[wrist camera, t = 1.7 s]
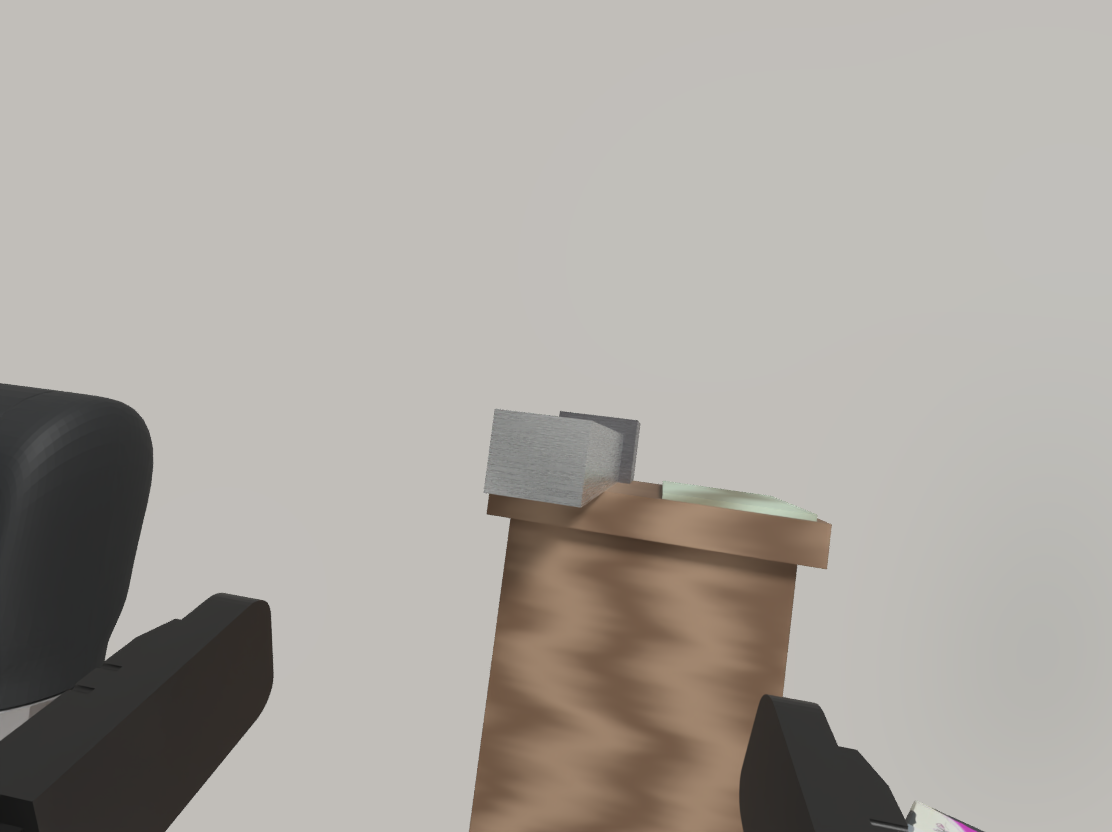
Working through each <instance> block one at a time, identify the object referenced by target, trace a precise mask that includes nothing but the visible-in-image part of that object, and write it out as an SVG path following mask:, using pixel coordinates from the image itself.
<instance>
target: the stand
mask: <svg viewBox="0 0 1112 832" xmlns="http://www.w3.org/2000/svg"><path fill="white" fill-rule="evenodd" d="M487 514H488V515H494V516H501V517H507V518H511V519H510V526H509V534H508V542H507V549H506V557H505V564H504V572H503V579H502V587H501V594H500V602H499V610H498V617H497V625H496V633H495V641H494V647H493V655H492V662H491V670H490V678H489V686H488V693H487V700H486V708H485V716H484V723H483V731H482V738H481V746H480V753H479V761H478V768H477V776H476V784H475V791H474V799H473V806H472V814H471V821H470V829H469V832H743V827H742V822H741V815H740V805H739V784H740V775H741V770H742V765H743V762H744V758H745V754H746V750H747V746H748V743H749V739H750V735H751V731H752V728H753V724H754V720H755V716H756V712H757V709H758V705H759V702H760V700H761V698H762V696H763V695H765V694H768V695H774V696H779V697H783V688H784V679H785V670H786V662H787V652H788V643H789V634H790V625H791V617H792V608H793V607H792V606H793V599H794V589H795V581H796V572H797V565H804V566H809V567H816V568H822V569H827V563H828V553H829V544H830V535H831V526H832V525H831V524H829V523H827V522H825V521H822V520H820V519H817V515H816V514H814V513H811V512H809V511H806V510H804V509H802V508H799V507H797V506H794V505H792V504H789V503H787V502H784V501H782V500H780V499H777V498H774V497H772V496H767V495H760V494H753V493H746V492H738V491H731V490H724V489H716V488H710V487H703V486H695V485H688V484H681V483H674V482H666V481H663V484H662V485H659V484H652V483H645V482H639V481H633V482H631V483H630V484H626V483H619V482H618V483H616V484H615V485H613V486H612V487H610V488H609V489H607V490H606V491H604V492H603V493H601V494H600V495H599V496H597V497H596V498H594V499H593V500H591V501H590V502H588V503H587V504H585V505H584V506H582V507H581V508H580V507H573V506H567V505H560V504H554V503H547V502H541V501H534V500H528V499H521V498H515V497H508V496H502V495H495V494H489V500H488V508H487Z"/></svg>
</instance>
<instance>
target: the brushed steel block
mask: <svg viewBox="0 0 1112 832" xmlns="http://www.w3.org/2000/svg"><path fill="white" fill-rule="evenodd" d="M639 430H640V423H639V421H637V420H629V419H620V418H613V417H604V416H596V415H587V414H579V413H571V412H563V411H560V415H559V417H558V416H550V415H542V414H533V413H525V412H517V411H509V410H501V409H495V411H494V420H493V426H492V434H491V441H490V449H489V456H488V464H487V471H486V478H485V486H484V493H489V494H495V495H502V496H508V497H515V498H521V499H528V500H534V501H541V502H547V503H554V504H560V505H567V506H573V507H580V508H581V507H582V506H584V505H585V504H587V503H588V502H590V501H591V500H593V499H594V498H596V497H597V496H599V495H600V494H601V493H603V492H604V491H606V490H607V489H609V488H610V487H612V486H613V485H615V484H616V483H618V482H619V483H626V484H630V483H631V482H633V478H634V471H635V462H636V455H637V446H638V438H639Z"/></svg>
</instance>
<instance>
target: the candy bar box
mask: <svg viewBox="0 0 1112 832" xmlns="http://www.w3.org/2000/svg"><path fill="white" fill-rule="evenodd" d="M905 821H906V823H907V825H908V832H984V831H981V830H979V829H977V828H975V827H973V826H971V825H969V824H966V823H964V822H962V821H960V820H957V819H955V818H953V817H951V816H948V815H946V814H944V813H942V812H940V811H938V810H935V809H933V808H931V807H929V806H926V805H924V804H922V803H920V802H918V801H914V803H913V805H912V807H911V809H910V812H909V814H908V815H907V818H906V820H905Z"/></svg>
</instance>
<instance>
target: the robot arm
mask: <svg viewBox="0 0 1112 832" xmlns="http://www.w3.org/2000/svg"><path fill="white" fill-rule="evenodd" d="M152 472H153V447H152V441H151V437H150V433H149V430H148V428H147V426H146V424H145V422H144V420H143V419H142V417H141V416H140V415H139V414H138V413H137V412H136V411H135V410H134V409H133V408H131V407H129V406H128V405H126V404H124V403H122V402H119V401H116V400H113V399H109V398H104V397H99V396H92V395H85V394H78V393H72V392H63V391H56V390H49V389H48V390H47V389H41V388H33V387H25V386H17V385H10V384H1V383H0V832H165V831H166V830H167V829H168V827H169V826H170V825H171V824H172V823H173V821H174V820H175V819H176V817H177V816H178V815H179V814H180V813H181V811H182V810H183V809H184V808H185V807H186V805H187V804H188V803H189V802H190V800H191V799H192V798H193V797H194V795H195V794H196V793H197V792H198V791H199V789H200V788H201V787H202V786H203V784H204V783H205V782H206V781H207V779H208V778H209V777H210V776H211V775H212V774H213V772H214V771H215V770H216V769H217V767H218V766H219V765H220V764H221V763H222V761H223V760H224V759H225V758H226V756H227V755H228V754H229V753H230V751H231V750H232V749H233V748H234V747H235V745H236V744H237V743H238V742H239V740H240V739H241V738H242V737H243V736H244V734H245V733H246V732H247V731H248V729H249V728H250V727H251V726H252V724H253V723H254V722H255V721H256V720H257V718H258V717H259V715H260V714H261V712H262V710H263V709H264V707H265V705H266V703H267V700H268V698H269V695H270V692H271V689H272V684H273V653H272V629H271V611H270V607H269V605H268V603H267V602H266V601H263V600H259V599H253V598H248V597H243V596H237V595H231V594H226V593H218V594H215V595H213V596H211V597H210V598H208V599H207V600H206V601H204V602H203V603H202V604H201V605H199V606H198V607H197V608H196V609H194V610H193V611H192V612H191V613H189V614H188V615H187V616H186V617H184V618H183V619H182V620H179V619H174V620H172V621H170V622H168V623H166V624H163V625H161V626H159V627H157V628H155V629H153V630H151V631H149V632H147V633H144V634H142V635H140V636H138V637H136V638H135V639H133V640H132V641H131V642H130V643H128V644H127V645H126V646H125V647H123V648H122V649H120V650H119V651H118V652H116V653H115V654H114V655H112V656H111V657H110V658H108V659H107V660H106V661H105V655H106V650H107V645H108V641H109V638H110V636H111V634H112V631H113V629H114V627H115V625H116V623H117V620H118V618H119V616H120V614H121V611H122V609H123V606H124V603H125V600H126V597H127V593H128V589H129V584H130V579H131V574H132V568H133V564H134V560H135V555H136V550H137V546H138V541H139V537H140V533H141V529H142V524H143V519H144V516H145V511H146V507H147V503H148V497H149V493H150V487H151V481H152ZM104 661H105V662H104ZM739 805H740V815H741V822H742V827H743V832H908V825H907V823H906V821H905V819H904V816H903V814H902V812H901V810H900V808H899V807H898V805H897V802H896V800H895V798H894V796H893V794H892V792H891V790H890V788H889V786H888V785H887V784H886V783H885V781H884V780H883V779H882V778H881V777H880V776H879V775H878V773H877V772H876V771H875V770H874V769H873V768H872V767H871V765H870V764H869V763H868V762H867V761H866V760H865V759H864V757H863V756H862V755H861V754H860V753H859V752H858V751H857V750H854V749H849V748H844V747H839V746H838V745H837V743H836V740H835V738H834V736H833V733H832V731H831V729H830V727H829V724H828V722H827V720H826V717H825V715H824V713H823V711H822V709H821V707H820V706H819V705H818V704H816V703H812V702H807V701H801V700H796V699H790V698H785V697H779V696H774V695H768V694H765V695H763V696H762V698H761V700H760V702H759V705H758V709H757V712H756V716H755V720H754V724H753V728H752V731H751V735H750V739H749V743H748V746H747V750H746V754H745V758H744V762H743V765H742V770H741V775H740V784H739Z"/></svg>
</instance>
